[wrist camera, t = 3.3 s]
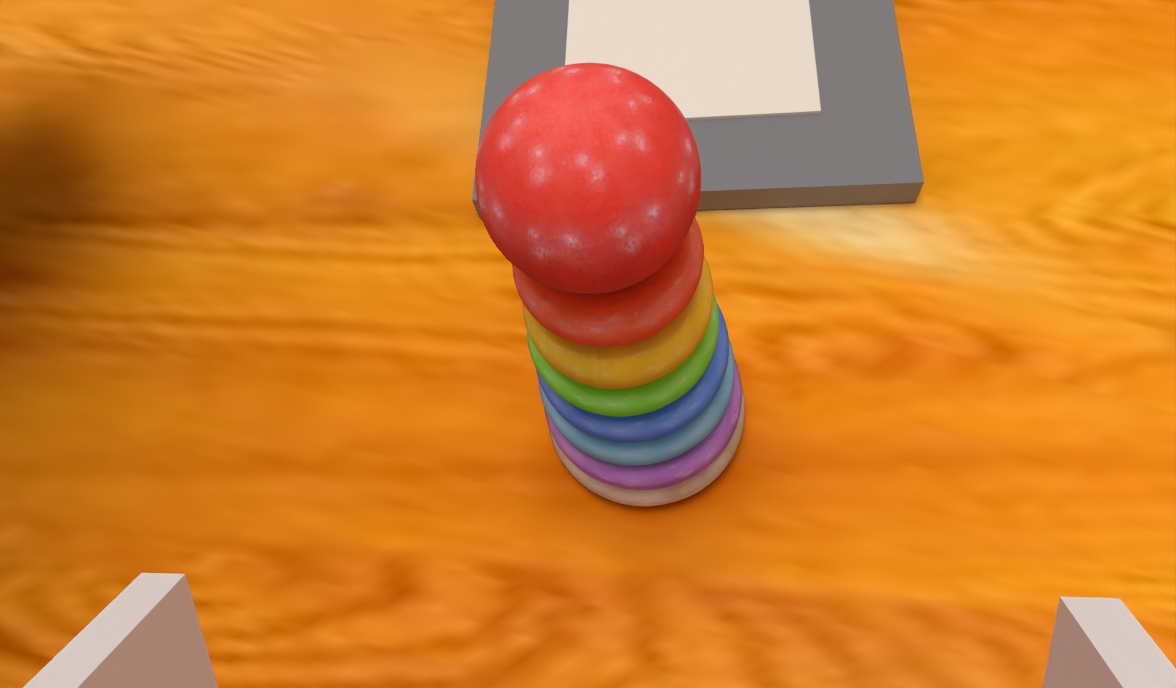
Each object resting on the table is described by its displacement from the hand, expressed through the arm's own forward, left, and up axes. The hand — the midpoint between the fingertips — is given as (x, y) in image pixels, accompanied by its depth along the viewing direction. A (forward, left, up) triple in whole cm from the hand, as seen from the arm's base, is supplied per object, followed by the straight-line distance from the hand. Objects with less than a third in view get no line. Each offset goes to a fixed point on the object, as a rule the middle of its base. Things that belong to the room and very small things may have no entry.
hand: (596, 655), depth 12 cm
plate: (+2, +30, -18) cm, 35 cm away
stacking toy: (0, +10, -18) cm, 21 cm away
